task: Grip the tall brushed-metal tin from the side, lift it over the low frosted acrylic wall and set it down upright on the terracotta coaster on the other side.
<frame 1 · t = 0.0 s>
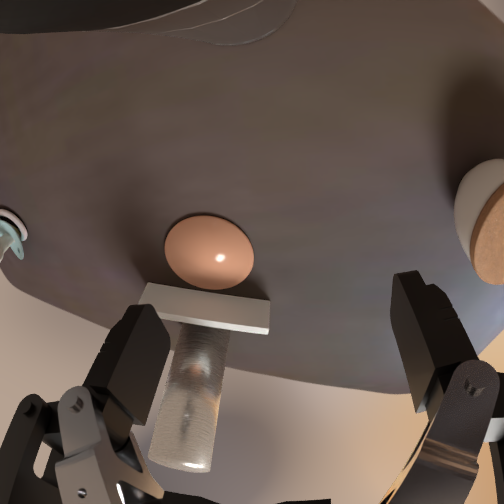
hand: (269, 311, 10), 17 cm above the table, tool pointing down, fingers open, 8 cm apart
lidded jar: (478, 191, 24), on the table
pacifier: (13, 227, 30), on the table
terracotta coaster: (208, 254, 30), on the table
acrylic wall: (207, 295, 34), on the table
metal tin: (206, 326, 37), on the table
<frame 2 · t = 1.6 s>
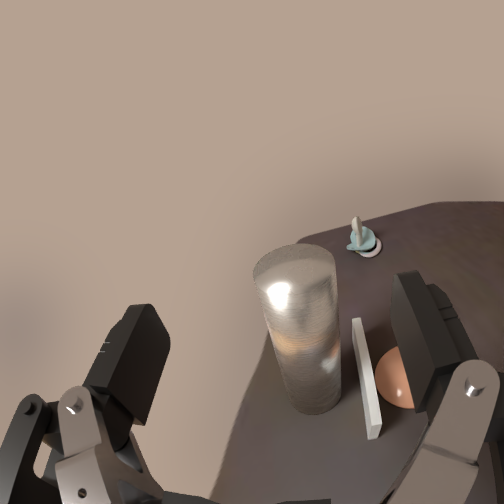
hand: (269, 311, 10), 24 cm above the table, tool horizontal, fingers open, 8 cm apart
pacifier: (365, 249, 52), on the table
terracotta coaster: (411, 375, 29), on the table
acrylic wall: (364, 384, 30), on the table
metal tin: (315, 392, 31), on the table
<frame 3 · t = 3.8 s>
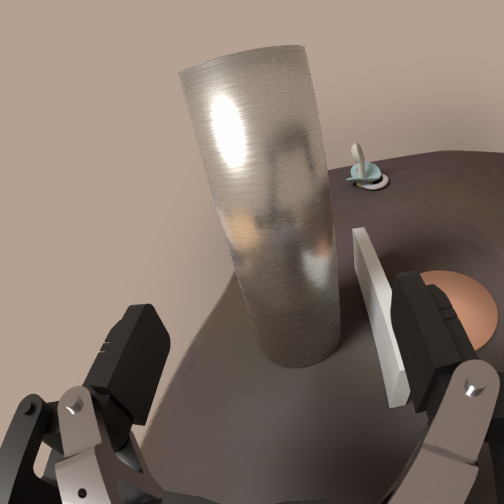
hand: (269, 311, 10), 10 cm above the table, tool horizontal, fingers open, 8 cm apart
pacifier: (369, 185, 42), on the table
terracotta coaster: (446, 309, 19), on the table
acrylic wall: (377, 323, 20), on the table
metal tin: (299, 334, 21), on the table
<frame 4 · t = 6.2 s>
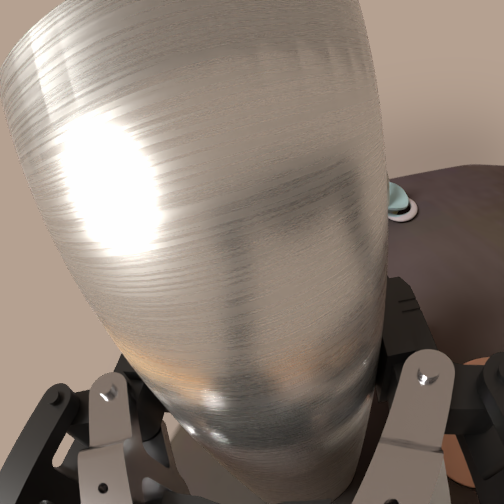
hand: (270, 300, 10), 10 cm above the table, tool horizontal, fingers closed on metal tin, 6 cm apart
pacifier: (393, 213, 33), on the table
terracotta coaster: (492, 418, 11), on the table
acrylic wall: (406, 446, 12), on the table
metal tin: (301, 462, 13), on the table, touching gripper
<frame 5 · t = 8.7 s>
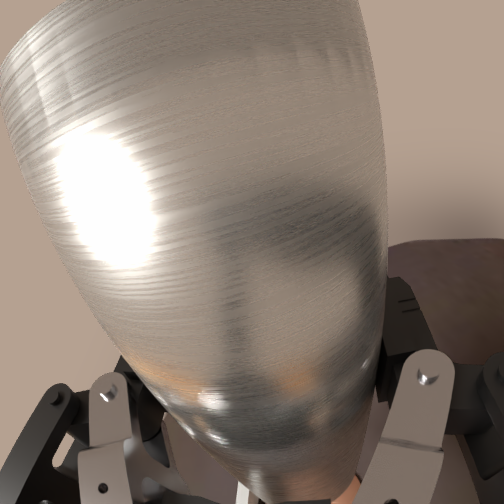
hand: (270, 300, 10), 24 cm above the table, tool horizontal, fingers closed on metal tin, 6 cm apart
terracotta coaster: (314, 501, 20), on the table
acrylic wall: (253, 502, 21), on the table
metal tin: (301, 463, 13), point 14 cm above the table, touching gripper
when the fingers open (12 cm above the table, at t = 11.6 s): metal tin drops 1 cm, resting on terracotta coaster.
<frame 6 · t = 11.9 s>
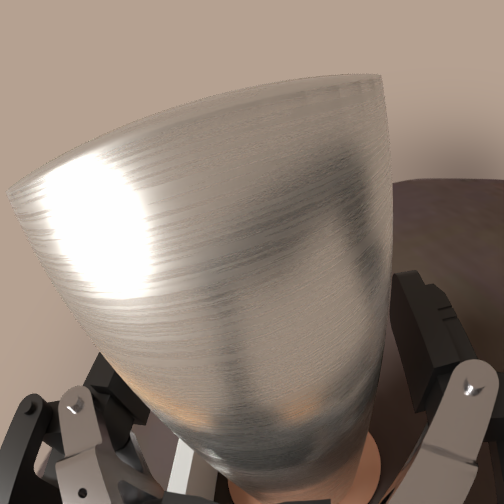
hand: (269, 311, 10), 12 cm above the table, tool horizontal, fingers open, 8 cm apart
terracotta coaster: (303, 470, 14), on the table
acrylic wall: (210, 470, 15), on the table
metal tin: (303, 471, 14), resting on terracotta coaster
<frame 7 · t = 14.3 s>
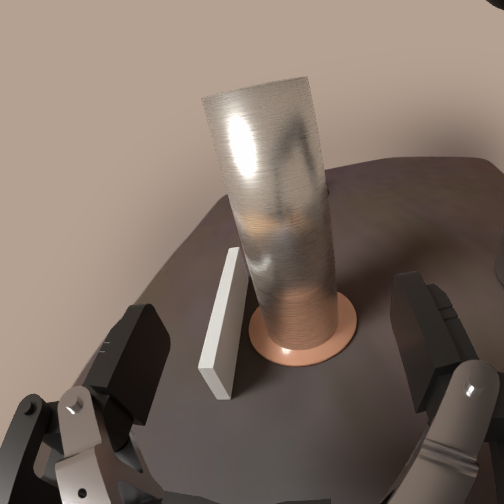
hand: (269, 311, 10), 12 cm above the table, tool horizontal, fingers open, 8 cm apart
terracotta coaster: (302, 323, 25), on the table
acrylic wall: (235, 330, 26), on the table
metal tin: (302, 321, 24), resting on terracotta coaster
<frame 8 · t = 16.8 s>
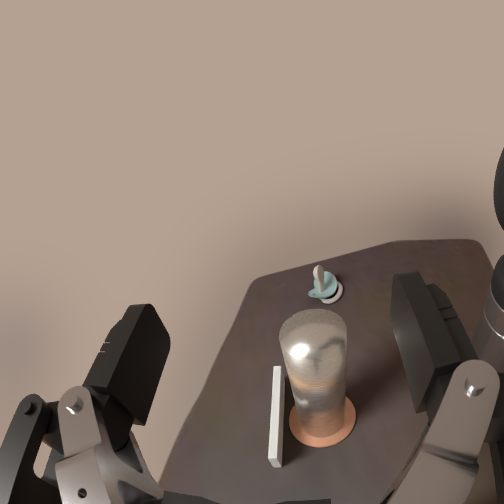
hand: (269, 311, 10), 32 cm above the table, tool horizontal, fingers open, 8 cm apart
pacifier: (327, 294, 57), on the table
terracotta coaster: (322, 418, 35), on the table
acrylic wall: (280, 421, 37), on the table
metal tin: (322, 418, 35), resting on terracotta coaster
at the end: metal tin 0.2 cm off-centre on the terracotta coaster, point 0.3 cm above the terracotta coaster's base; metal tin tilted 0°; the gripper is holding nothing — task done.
